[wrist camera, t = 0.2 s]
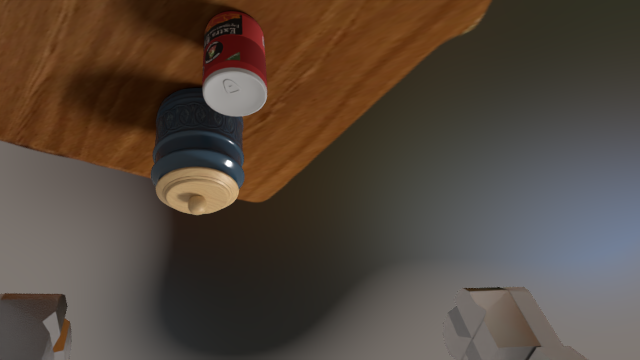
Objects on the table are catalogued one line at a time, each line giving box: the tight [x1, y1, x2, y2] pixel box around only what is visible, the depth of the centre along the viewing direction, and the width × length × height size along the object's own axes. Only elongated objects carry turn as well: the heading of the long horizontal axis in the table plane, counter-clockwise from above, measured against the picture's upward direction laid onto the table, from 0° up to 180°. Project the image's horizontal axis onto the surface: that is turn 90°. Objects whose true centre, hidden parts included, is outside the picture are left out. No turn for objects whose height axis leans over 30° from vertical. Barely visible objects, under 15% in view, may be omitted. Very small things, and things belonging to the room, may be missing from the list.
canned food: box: [202, 11, 267, 116], centre depth 67 cm, size 8×8×11 cm
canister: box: [151, 88, 244, 215], centre depth 77 cm, size 13×13×18 cm
